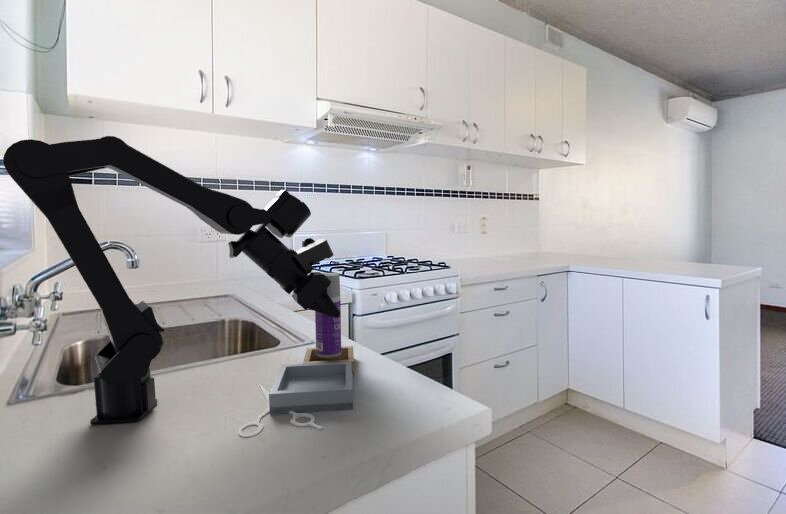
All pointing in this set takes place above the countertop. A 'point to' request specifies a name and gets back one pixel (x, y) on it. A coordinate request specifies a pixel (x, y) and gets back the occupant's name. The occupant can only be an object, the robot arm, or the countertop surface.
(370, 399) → the countertop surface
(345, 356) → the holder
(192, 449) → the countertop surface
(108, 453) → the countertop surface
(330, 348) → the container
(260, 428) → the scissors
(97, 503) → the countertop surface
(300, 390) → the tray
